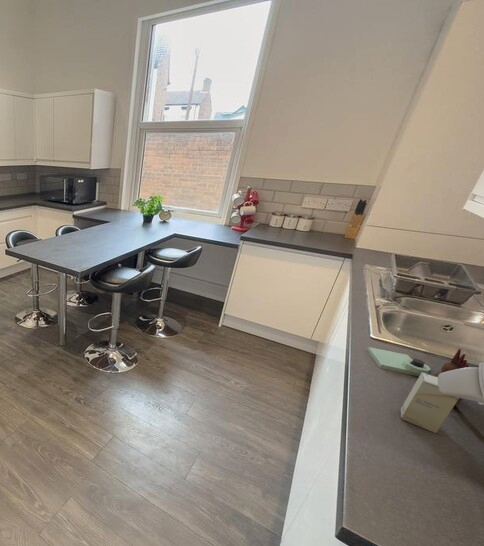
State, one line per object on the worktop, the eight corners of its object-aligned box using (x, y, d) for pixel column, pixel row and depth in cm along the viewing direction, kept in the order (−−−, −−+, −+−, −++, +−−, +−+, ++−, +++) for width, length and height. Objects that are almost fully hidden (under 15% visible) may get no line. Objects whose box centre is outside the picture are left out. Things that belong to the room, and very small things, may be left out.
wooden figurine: (420, 387, 87) (445, 343, 81) (450, 397, 84) (478, 351, 78) (427, 402, 82) (454, 355, 76) (459, 412, 79) (490, 365, 73)
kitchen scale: (410, 359, 99) (414, 351, 98) (429, 380, 90) (434, 372, 89) (367, 350, 103) (370, 342, 102) (381, 370, 94) (385, 361, 93)
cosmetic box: (400, 419, 77) (422, 380, 72) (399, 409, 80) (420, 371, 75) (437, 434, 73) (463, 394, 68) (435, 423, 76) (459, 383, 71)
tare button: (419, 364, 93) (422, 360, 92) (424, 369, 91) (426, 364, 90) (409, 362, 93) (411, 357, 93) (413, 366, 91) (415, 362, 91)
